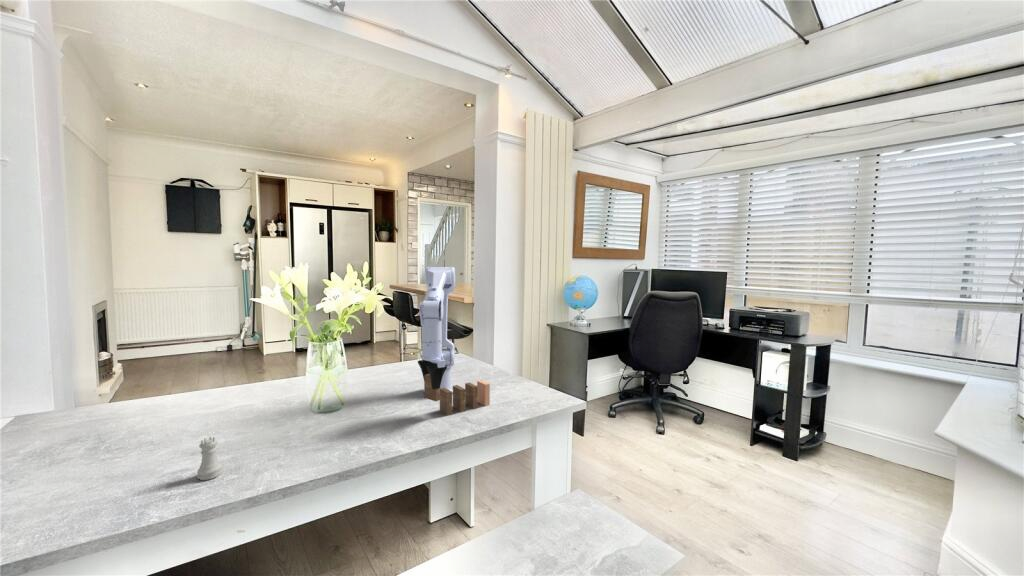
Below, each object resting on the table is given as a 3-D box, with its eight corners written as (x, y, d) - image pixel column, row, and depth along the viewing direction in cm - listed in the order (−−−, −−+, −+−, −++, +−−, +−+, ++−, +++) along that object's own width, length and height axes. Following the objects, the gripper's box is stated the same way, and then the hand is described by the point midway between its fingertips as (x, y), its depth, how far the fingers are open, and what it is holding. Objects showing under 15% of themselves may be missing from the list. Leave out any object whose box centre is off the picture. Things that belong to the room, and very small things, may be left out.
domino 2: (447, 415, 122) (447, 392, 122) (439, 410, 126) (439, 388, 126) (452, 414, 123) (452, 391, 123) (444, 409, 127) (444, 387, 127)
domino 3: (460, 412, 125) (460, 390, 124) (452, 407, 129) (452, 385, 128) (465, 411, 126) (465, 389, 125) (457, 406, 130) (457, 384, 129)
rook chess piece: (205, 470, 90) (204, 435, 89) (227, 469, 90) (225, 434, 89) (191, 481, 85) (189, 444, 85) (214, 480, 86) (212, 444, 85)
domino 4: (473, 409, 127) (473, 387, 127) (465, 404, 131) (465, 383, 131) (477, 408, 128) (477, 386, 128) (469, 403, 132) (469, 382, 132)
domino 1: (436, 401, 119) (435, 378, 119) (424, 397, 122) (424, 375, 122) (440, 400, 121) (440, 376, 120) (428, 396, 124) (428, 373, 123)
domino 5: (485, 406, 130) (485, 384, 130) (477, 401, 134) (477, 380, 134) (489, 405, 131) (489, 383, 131) (481, 400, 135) (481, 380, 135)
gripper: (454, 343, 116) (455, 390, 117) (434, 335, 129) (435, 377, 129) (431, 346, 113) (431, 394, 114) (413, 337, 125) (413, 381, 126)
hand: (432, 386), depth 121 cm, fingers closed on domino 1, 5 cm apart
